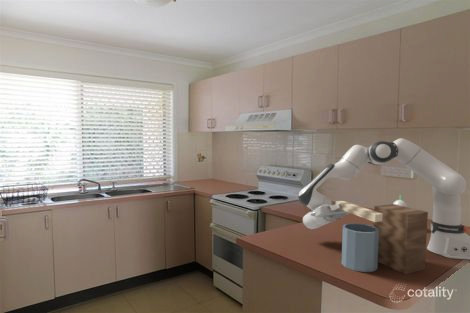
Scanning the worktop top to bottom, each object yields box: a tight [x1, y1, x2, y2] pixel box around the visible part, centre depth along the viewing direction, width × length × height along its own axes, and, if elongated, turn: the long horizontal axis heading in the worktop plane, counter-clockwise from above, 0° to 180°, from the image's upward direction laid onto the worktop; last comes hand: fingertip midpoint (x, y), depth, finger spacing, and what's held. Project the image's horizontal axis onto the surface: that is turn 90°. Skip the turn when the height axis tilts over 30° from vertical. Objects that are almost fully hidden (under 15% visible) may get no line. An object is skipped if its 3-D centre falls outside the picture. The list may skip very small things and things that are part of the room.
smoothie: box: [392, 194, 409, 208], centre depth 185 cm, size 8×8×20 cm
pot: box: [341, 222, 379, 273], centre depth 130 cm, size 14×14×16 cm
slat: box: [334, 200, 383, 223], centre depth 131 cm, size 22×4×3 cm, turn 24°
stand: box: [373, 203, 429, 275], centre depth 131 cm, size 16×12×24 cm
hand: (344, 205), depth 138 cm, fingers closed on slat, 4 cm apart
